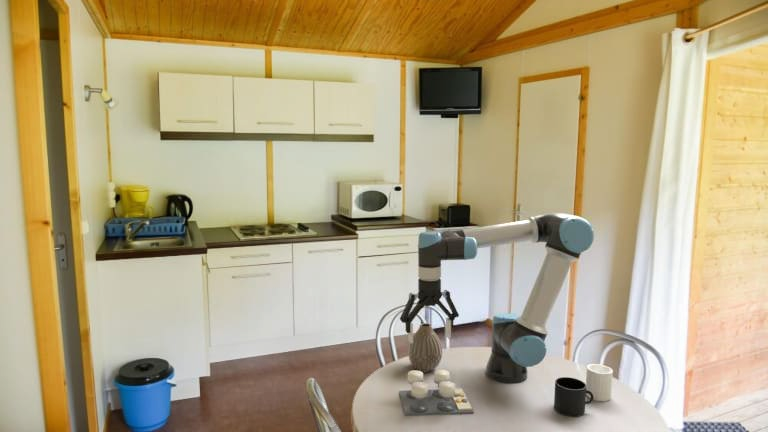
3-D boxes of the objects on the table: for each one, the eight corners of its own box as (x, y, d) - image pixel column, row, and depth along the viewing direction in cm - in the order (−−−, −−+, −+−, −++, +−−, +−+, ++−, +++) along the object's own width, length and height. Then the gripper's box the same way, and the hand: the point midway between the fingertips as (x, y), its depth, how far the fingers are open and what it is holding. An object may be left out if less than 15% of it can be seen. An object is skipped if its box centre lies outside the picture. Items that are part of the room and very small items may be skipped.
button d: (425, 396, 165) (426, 381, 165) (428, 403, 160) (428, 388, 160) (410, 396, 165) (410, 382, 164) (412, 404, 160) (412, 389, 159)
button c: (421, 383, 174) (421, 370, 174) (424, 390, 169) (424, 376, 168) (406, 384, 174) (407, 370, 173) (408, 391, 169) (408, 377, 168)
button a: (447, 383, 175) (447, 369, 174) (450, 390, 170) (450, 375, 169) (432, 383, 174) (432, 369, 174) (435, 390, 169) (435, 376, 169)
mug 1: (596, 418, 158) (598, 391, 157) (557, 416, 160) (558, 388, 159) (588, 404, 167) (590, 378, 166) (551, 401, 169) (552, 376, 168)
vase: (443, 376, 188) (444, 330, 186) (408, 375, 188) (409, 330, 186) (440, 362, 201) (441, 319, 199) (407, 361, 201) (407, 319, 199)
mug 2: (596, 385, 182) (598, 358, 181) (615, 400, 170) (617, 373, 169) (575, 386, 181) (577, 359, 180) (593, 402, 169) (594, 374, 168)
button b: (452, 395, 166) (453, 380, 165) (456, 403, 161) (456, 388, 160) (437, 395, 166) (437, 381, 165) (440, 403, 160) (440, 388, 160)
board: (461, 390, 177) (461, 386, 176) (473, 413, 161) (473, 408, 161) (399, 392, 175) (399, 388, 175) (405, 415, 159) (405, 411, 159)
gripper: (459, 273, 175) (459, 332, 177) (390, 278, 168) (391, 339, 171) (468, 277, 168) (468, 339, 170) (397, 283, 161) (397, 347, 164)
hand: (429, 339), depth 170 cm, fingers open, 13 cm apart
